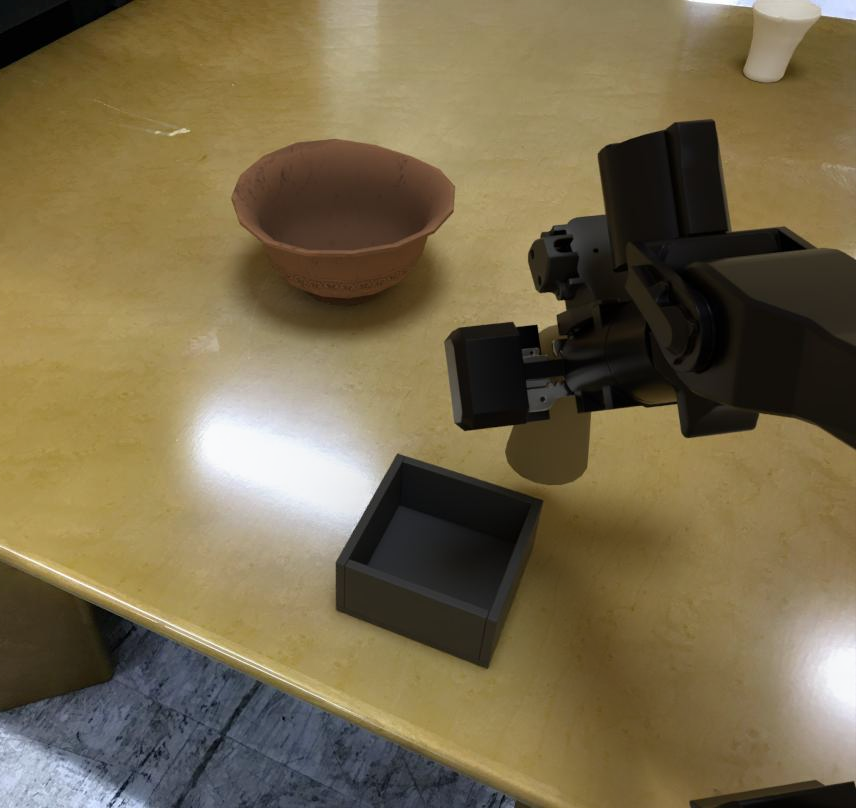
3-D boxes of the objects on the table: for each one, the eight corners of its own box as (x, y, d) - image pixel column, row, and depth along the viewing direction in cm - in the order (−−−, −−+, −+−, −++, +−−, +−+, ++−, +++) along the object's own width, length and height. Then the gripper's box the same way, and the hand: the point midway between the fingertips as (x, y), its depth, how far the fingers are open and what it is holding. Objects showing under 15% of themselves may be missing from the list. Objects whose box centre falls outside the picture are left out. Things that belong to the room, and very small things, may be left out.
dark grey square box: (532, 548, 69) (544, 499, 65) (487, 669, 61) (497, 622, 57) (394, 501, 72) (397, 452, 69) (335, 609, 65) (335, 562, 61)
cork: (576, 495, 63) (607, 377, 56) (494, 469, 66) (513, 352, 58) (596, 441, 67) (627, 324, 60) (518, 418, 70) (539, 302, 62)
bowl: (385, 208, 106) (388, 120, 98) (489, 308, 91) (502, 213, 84) (209, 256, 99) (199, 165, 92) (291, 372, 84) (286, 275, 77)
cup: (725, 81, 130) (747, 10, 123) (740, 59, 135) (761, -11, 129) (790, 94, 126) (816, 21, 119) (803, 70, 132) (828, 0, 125)
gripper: (799, 184, 49) (664, 250, 64) (466, 217, 47) (409, 277, 63) (829, 387, 48) (685, 404, 64) (494, 427, 47) (429, 435, 62)
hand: (553, 376), depth 63 cm, fingers closed on cork, 5 cm apart
